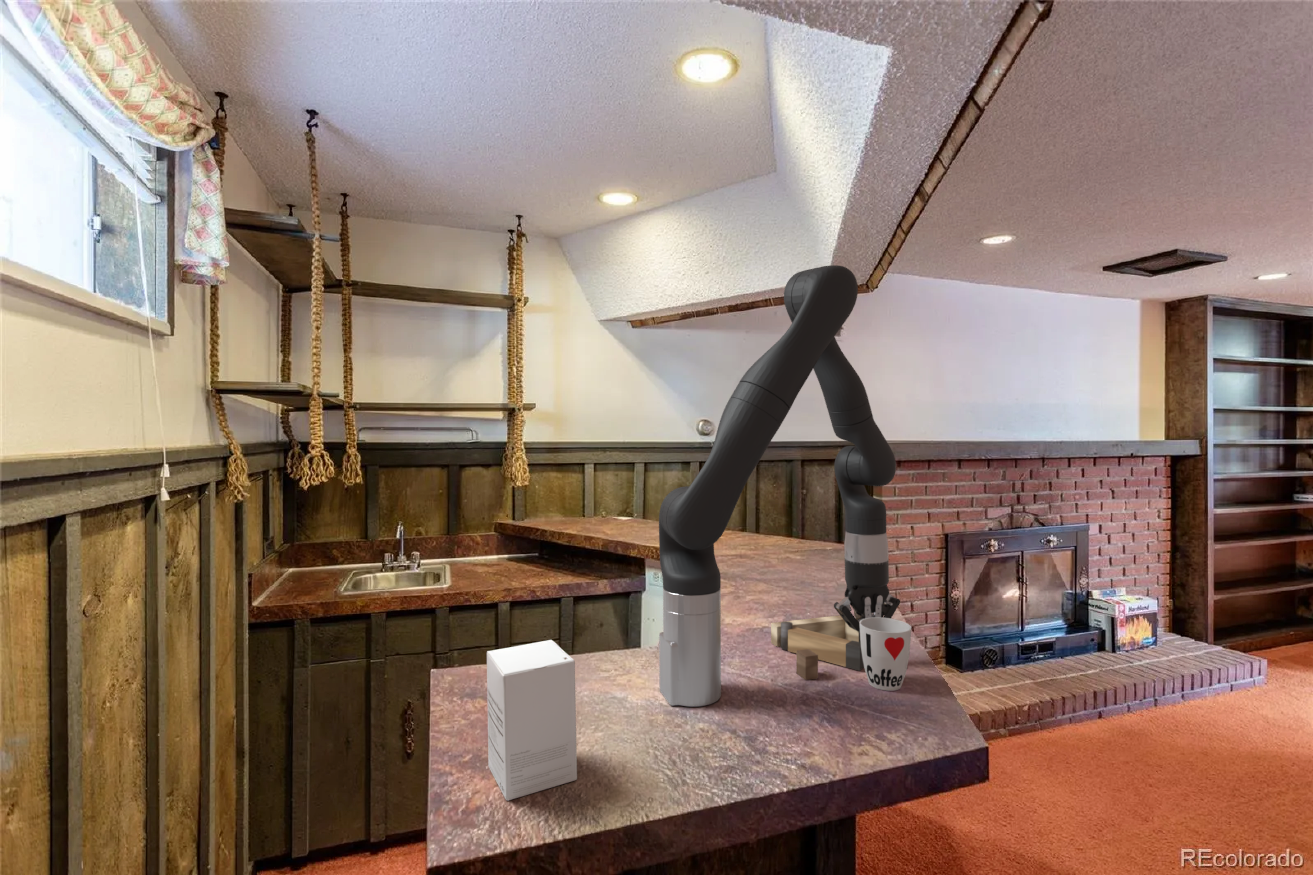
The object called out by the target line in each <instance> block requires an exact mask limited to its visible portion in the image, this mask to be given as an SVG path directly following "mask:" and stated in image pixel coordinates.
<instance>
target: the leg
mask: <svg viewBox="0 0 1313 875" xmlns="http://www.w3.org/2000/svg"><path fill="white" fill-rule="evenodd" d="M780 622H781V647H780V649H782V650H783V651H788V652H789V653H792V654H793V653H794V654H796V651H797V650H805V649H809V650H811V651H812V652H814V653H816V654H817V655H818V661H822V662H827V663H830V664H834V665H837V666H841V667H844V668H848V669H852V670H855V671H859V672H860V671H862V670H863V669H865V668H864V663H863V657H862V651H861V642H857V641H853V640H852V641H850V640H846V639H842V638H838V637H834V636H830V635H825V634H821V633H817V632H813V631H809V630H805V629H801V628H797V627H794V628H793V623H791V622H784V621H780Z"/></svg>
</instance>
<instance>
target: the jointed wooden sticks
mask: <svg viewBox="0 0 1313 875" xmlns="http://www.w3.org/2000/svg"><path fill="white" fill-rule="evenodd" d="M781 622H782V621H776V622H771V623H770V644H772V645H773V646H775V647H776V646H777V647H776V648H781ZM783 622H791V623H793V628H794V627H797V628H801V629H805V630H809V631H813V632H817V633H821V634H825V635H830V636H834V637H838V638H842V639H846V640H850V641H852V640H853V641H857V642H859V632H858V631H856V630H854V629H852V628H851V627H849V626H848V625H847V623H846V622H845V621H844V619H843V618H842V617H841V616H840V614H839V615H831V616H821V617H813V618H803V619H794V620H786V621H783ZM795 654H796V655H795V656H796V660H795V661H796V662H795V663H796V668H795V670H796V674H797V675H798V676H799V677H800V678H802V679H803V680H805V681H808V680H816V679H819V659H818V655H817V654H816V653H814V652H812V651H811V650H809V649H805V650H797V651H796V653H795Z"/></svg>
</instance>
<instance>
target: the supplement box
mask: <svg viewBox="0 0 1313 875" xmlns="http://www.w3.org/2000/svg"><path fill="white" fill-rule="evenodd" d="M486 680H487V681H486V687H487V688H486V689H487V690H486V691H487V695H486V696H487V698H486V699H487V740H488V741H487V744H488V745H487V746H488V748H487V750H488V752H487V753H488V754H487V756H488V760H487V761H488V764H487V765H488V768H489V770H490V773H491V774H492V776H493V778H494V779H495V782H496V784H497V785H498V787H499V789H500V791H501V793H502V795H503V797H504V799H505V801H511V800H514V799H517V798H521V797H525V796H527V795H531V794H534V793H537V792H541V791H544V790H548V789H550V788H551V789H552V788H554V787H558V786H560V785H563V784H568V783H571V782H574V781H576V780H577V779H578V765H577V764H578V762H577V761H578V760H577V756H578V755H577V710H576V699H577V698H576V661H575V659H574V658H572V657H571V656H570V655H569V654H568V653H567V652H566V651H564V650H563V649H562V648H561V647H560V645H559V644H557V643H556V642H555V641H554V640H552V639H548V640H543V641H536V642H532V643H527V644H519V645H514V646H511V647H504V648H499V649H493V650H487V651H486Z"/></svg>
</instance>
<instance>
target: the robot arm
mask: <svg viewBox="0 0 1313 875" xmlns="http://www.w3.org/2000/svg"><path fill="white" fill-rule="evenodd" d="M858 288H859V287H858V282H857V278H856V275H855V274H854V273H853V271H851V270H850V269H849V268H848V267H846V266H843V265H837V264H836V265H835V264H834V265H831V264H830V265H823V266H819V267H815V268H809V269H805V270H801V271H798V272H796V273H795V274H792V276H791V277H790V278H789V279H788V280H787V282H786V285H785V286H784V289H783V290H784V291H783V303H784V306H785V310H786V312H787V315H788V317H789V320H790V321H791V324H790V326H789V327H788V328H787V330H786V331H785V333H784V334H783V335H782V336H781V337H780V338H779V340H777V341H776V342H775V343H774V344H773V345H772V346H771V347H770V348H769V349H768V350H767V351H766V352H765V353H763V355H762V356H760V357H759V358H758V359H757V360H756V361H755V362H754V363H753V364H751V366H750V367H749V368H748V369H747V370H746V372H745V373H744V374H743V376H742V377H741V378H740V380H739V382H738V384H737V385H736V387H735V389H734V391H733V392H732V394H731V396H730V397H729V399H728V402H726V405H725V407H724V409H723V412H722V414H721V417H720V419H719V424H718V427H717V430H716V434H715V439H714V441H713V445H712V448H711V451H710V453H709V455H708V457H707V459H706V461H705V463H704V465H703V466H702V467H701V469H700V471H699V472H698V473H697V475H696V476H695V478H694V479H693V481H692V483H691V484H690V485H689V486H687V485H686V486H680V487H677V488H674V489H672V490H671V491H670V492H669V493H668V494H667V495H666V496H665V497H664V499H663V501H662V502H661V505H660V509H659V514H658V543H659V544H658V545H659V563H660V564H659V565H660V571H661V574H662V617H663V618H662V626H663V627H662V630H663V631H661V632H659V637H658V640H659V641H658V642H659V645H658V648H659V650H658V651H659V653H658V654H659V657H658V658H659V659H658V660H659V662H658V663H659V666H658V667H659V668H658V669H659V673H658V676H659V691H660V693H661V694H662V695H663V697H664V698H665V700H666V701H667V703H669V705H670V706H684V707H703V706H708V705H712V704H714V703H717V701H718V700H720V698H721V696H722V653H721V652H722V650H721V648H722V645H721V644H722V643H721V642H722V641H721V640H722V638H721V637H722V636H721V634H722V633H721V630H722V629H721V628H722V627H721V622H722V621H721V620H722V617H721V616H722V614H721V612H722V610H721V608H722V607H721V605H722V604H721V601H722V600H721V594H722V593H721V591H722V590H721V588H722V587H721V585H722V584H721V583H722V582H721V581H722V579H721V571H720V568H719V566H718V563H717V560H716V555H715V543H717V542H718V541H719V539H721V536H723V534H724V532H725V530H726V529H727V526H728V525H729V524H728V523H729V522H730V519H731V517H732V516H733V513H734V511H735V508H736V506H737V503H738V501H739V499H740V497H741V494H742V493H743V490H744V489H745V487H746V484H747V482H748V481H749V479H750V476H752V473H753V472H754V470H755V468H756V467H757V465H758V464H759V462H760V460H761V458H762V457H763V456H764V454H765V452H766V450H767V449H768V447H769V446H770V444H771V442H772V440H773V438H774V436H776V434H777V432H778V431H779V429H780V427H781V425H782V424H783V422H784V421H785V419H786V417H787V415H788V414H789V412H790V410H791V408H792V406H793V404H794V402H795V400H796V399H797V397H798V395H799V393H800V391H801V389H803V386H804V385H805V383H806V381H807V379H808V378H809V376H810V375H811V373H812V371H814V374H815V376H816V378H817V380H818V383H819V386H820V389H821V391H822V395H823V398H824V401H825V405H826V409H827V412H828V413H827V414H828V416H829V420H830V423H831V426H832V429H833V433H834V434H835V436H836V437H837V438H838V439H841V440H844V441H845V442H848V443H852V444H853V445H847V446H843V447H842V448H841V449H840V450H839V451H838V453H837V455H836V457H835V460H834V463H833V464H834V465H833V466H834V475H835V480H836V484H837V486H838V489H839V494H840V497H841V500H842V504H843V506H844V514H845V515H844V517H845V520H844V524H845V525H844V526H845V527H844V528H845V536H844V544H843V545H844V546H843V547H844V580H845V583H846V589H845V591H844V598H843V599H842V600H841V601H840V602H837V601H836V602H834V604H833V608H834V609H835V611H836V612H837V613H838V614H839V615H840V616H841V617H842V618H843V619H844V621H845V622H846V623H847V625H848V626H849V627H851V628H852V629H854V630H856V631H858V632H859V642H861V641H860V624H859V622H860V621H861V620H862V619H865V618H873V617H880V618H890V619H893V618H892V617H893V615H894V614H895V612H896V611H897V610H898V608H899V606H900V604H901V600H900V599H899V598H897V597H895V596H893V595H892V594H891V593H890V589H889V587H888V584H889V581H890V574H889V573H890V571H889V570H890V569H889V567H890V566H889V565H890V563H889V541H888V535H887V507H886V504H885V503H884V501H882V500H880V499H878V498H876V497H873V496H871V495H870V494H869V493H868V491H867V489H866V487H865V486H867V487H868V486H869V487H884V486H887V485H889V484H890V483H891V482H892V480H894V477H895V474H896V471H897V462H896V457H895V455H894V452H893V450H892V448H891V446H890V444H889V442H888V441H887V438H885V436H884V435H883V432H882V431H881V429H880V427H879V426H878V425H877V423H876V421H875V420H874V415H873V412H872V408H871V405H870V400H869V396H868V393H867V390H866V387H865V386H864V383H863V380H862V379H861V378H860V376H859V374H858V373H857V371H856V369H854V367H853V365H852V364H851V362H850V360H848V358H847V357H846V355H845V354H844V353H843V351H842V348H841V347H840V345H839V344H838V341H837V339H836V335H837V333H838V332H839V331H840V329H841V328H842V327H843V325H844V324H845V322H846V321H847V320H848V319H849V317H850V316H851V313H852V312H853V310H854V307H855V305H856V303H857V300H858V292H859V289H858ZM852 609H853V612H852Z"/></svg>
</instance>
